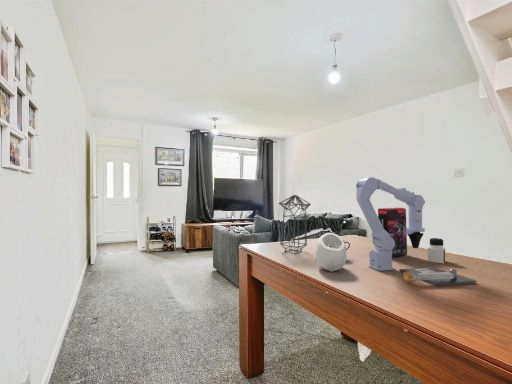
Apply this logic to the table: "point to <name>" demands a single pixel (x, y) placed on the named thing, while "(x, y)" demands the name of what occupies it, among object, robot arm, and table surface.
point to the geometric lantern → (294, 222)
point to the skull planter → (331, 252)
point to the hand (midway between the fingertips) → (415, 247)
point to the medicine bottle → (436, 251)
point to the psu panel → (440, 282)
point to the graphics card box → (395, 228)
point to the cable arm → (431, 275)
